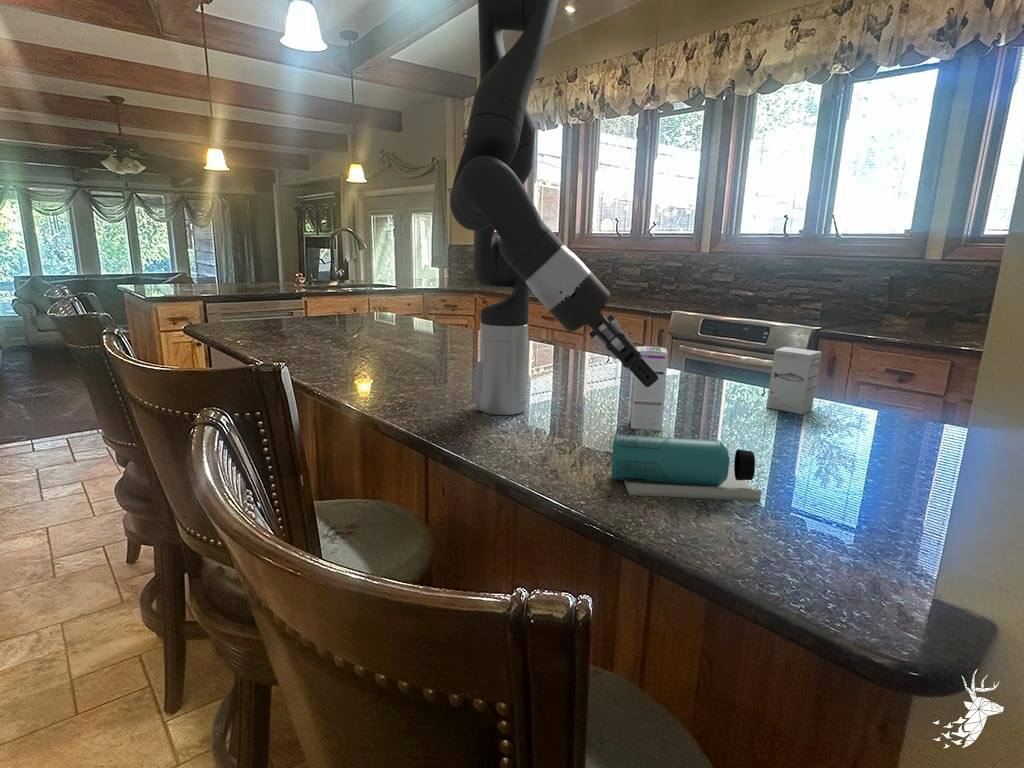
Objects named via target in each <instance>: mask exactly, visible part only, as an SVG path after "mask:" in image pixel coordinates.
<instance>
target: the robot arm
mask: <svg viewBox="0 0 1024 768" xmlns="http://www.w3.org/2000/svg"><path fill="white" fill-rule="evenodd" d="M558 2H559V0H477V15H478V16H477V17H478V40H479V41H478V43H479V45H478V46H479V70H480V71H479V73H480V75H479V77H480V78H479V85H478V86H477V88H476V91H475V94H474V98H473V101H472V107H471V111H470V115H469V120H468V125H467V132H466V139H465V144H464V148H463V151H462V154H461V157H460V160H459V162H458V163H459V164H458V167H457V169H456V172H455V173H456V174H455V177H454V179H453V183H452V186H451V190H450V191H451V192H450V195H449V196H450V197H449V206H450V211H451V214H452V216H453V217H454V219H455V221H456V222H457V223H458V224H459V225H460V226H461V227H463V228H464V229H467V230H469V231H472V232H473V231H475V235H474V236H475V237H474V249H473V250H474V251H473V274H474V279H475V281H476V283H477V284H478V286H481V287H486V288H487V287H488V288H489V287H490V288H493V287H495V288H512V291H511V293H510V294H509V296H507V297H505V298H503V299H502V300H501V301H500V300H499V301H498V302H495V303H492V304H489V305H486V306H484V307H482V308H481V310H480V321H479V322H480V332H479V333H480V335H479V336H480V337H479V338H480V339H479V340H480V341H479V361H477V362H476V363H475V403H474V404H475V405H474V408H475V410H476V411H480V412H482V413H486V414H490V415H495V416H496V415H498V416H509V415H510V416H511V415H517V414H518V415H519V414H521V413H523V412H525V411H526V402H527V398H526V395H527V394H526V392H527V375H528V373H527V369H528V345H529V343H528V340H529V339H528V338H529V315H530V314H529V313H530V312H529V310H530V309H529V307H530V290H531V292H532V293H533V294H534V296H535V297H536V299H537V300H538V301H539V302H540V303H541V304H542V305H543V306H544V307H545V308H546V309H547V310H548V311H549V312H550V314H551V315H552V316H553V317H554V318H555V319H556V320H557V321H558V322H559V323H560V325H561V326H562V327H563V328H564V329H565V330H566V331H567V332H568V333H574V332H577V331H578V330H579V329H582V327H583V326H585V325H587V326H589V327H590V329H592V330H591V331H590V332H589V333H588V335H589V336H590V338H591V339H592V340H593V341H594V342H595V343H596V345H597V346H599V347H602V348H603V349H604V350H605V351H606V352H607V354H609V356H610V357H611V358H612V359H614V360H619V362H621V364H622V367H624V369H627V370H629V371H630V372H631V373H632V374H633V375H635V376H636V377H637V378H638V379H639V380H640V381H641V382H642V384H643V385H644V386H645V387H650V386H651V385H652V384H653V383H654V382H656V381H657V380H658V376H657V374H656V373H655V372H654V371H653V370H652V369H651V368H650V367H649V366H648V364H647V363H646V362H645V361H644V360H643V359H642V356H641V354H640V352H639V351H637V350H635V349H636V347H634V341H633V340H632V338H631V337H629V335H628V334H627V333H626V332H625V331H624V330H623V329H622V325H621V323H620V322H619V321H618V320H617V319H616V318H615V317H614V316H613V315H612V314H609V315H608V316H607V317H605V316H604V315H603V312H602V309H603V308H605V307H606V305H607V304H608V303H609V302H610V300H611V297H612V296H611V295H612V294H611V292H610V291H609V290H608V289H607V288H606V287H605V286H604V285H603V283H602V282H601V281H600V280H599V279H598V278H597V276H596V275H595V274H594V273H593V272H592V271H591V270H590V269H589V268H588V266H586V264H585V263H584V262H583V261H582V260H581V259H580V258H579V257H578V256H577V254H575V253H574V252H573V251H572V250H570V249H569V248H568V247H567V246H566V245H565V244H564V243H563V242H562V241H561V239H560V238H559V237H558V236H557V235H556V234H555V233H554V232H553V231H552V229H551V228H550V227H549V226H548V225H547V224H546V223H545V222H544V221H543V219H542V218H541V216H540V214H539V212H538V209H537V207H536V205H535V204H534V202H533V200H532V199H531V197H530V195H529V194H528V192H527V190H526V188H525V186H524V184H525V182H527V179H528V177H529V176H530V173H531V172H532V170H533V169H532V168H533V162H534V161H533V160H534V150H535V137H536V129H535V123H534V119H533V116H532V114H531V112H530V109H529V108H528V107H529V106H528V101H529V97H530V94H531V90H532V87H533V84H534V80H535V77H536V76H537V75H536V74H537V72H538V70H539V66H540V64H541V61H542V59H543V55H544V52H545V51H546V50H545V49H546V47H547V43H548V40H549V37H550V35H551V32H552V28H553V26H554V25H553V24H554V21H555V17H556V13H557V7H558ZM503 30H504V31H514V32H522V34H521V36H520V37H519V39H517V41H516V42H515V43H514V45H512V47H511V48H510V49H509V50H508V51H507V52H506V50H505V49H506V48H505V43H504V38H503V37H504V36H503V35H504V34H503ZM495 231H496V234H498V236H494V233H495Z"/></svg>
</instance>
